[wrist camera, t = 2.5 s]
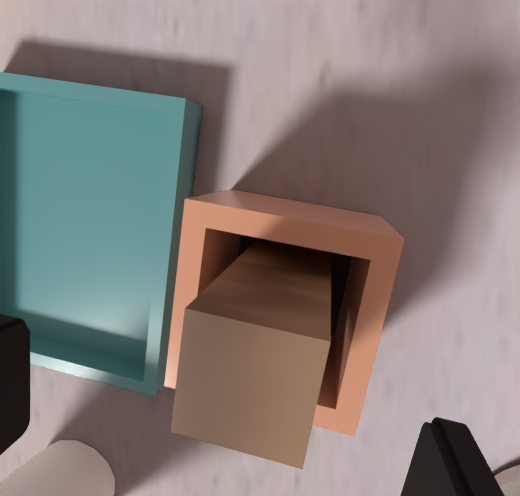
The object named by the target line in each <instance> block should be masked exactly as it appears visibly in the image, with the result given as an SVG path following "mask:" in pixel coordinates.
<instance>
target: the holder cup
mask: <svg viewBox="0 0 520 496" xmlns="http://www.w3.org/2000/svg"><path fill="white" fill-rule="evenodd" d="M241 235H246V236H251V237H256V238H261V239H266V240H271V241H276V242H282V243H287V244H292V245H297V246H302V247H307V248H312V249H317V250H323V251H328V252H333V253H338V254H343V255H348V256H352V261H351V265H350V270H349V274H348V279H347V283H346V287H345V292H344V296H343V301H342V305H341V310H340V314H339V319H338V323H337V328H336V332H335V337H334V336H331V343H330V347H329V352H328V356H327V361H326V365H325V370H324V374H323V379H322V383H321V388H320V392H319V397H318V401H317V406H316V410H315V415H314V419H313V424H312V425H314V426H318V427H321V428H325V429H329V430H333V431H336V432H340V433H344V434H348V435H352V436H355V434H356V430H357V426H358V422H359V418H360V414H361V410H362V406H363V402H364V399H365V395H366V391H367V387H368V383H369V379H370V375H371V371H372V367H373V363H374V359H375V355H376V352H377V348H378V344H379V340H380V336H381V332H382V328H383V324H384V320H385V316H386V312H387V308H388V304H389V301H390V297H391V293H392V289H393V285H394V281H395V277H396V273H397V269H398V265H399V261H400V257H401V254H402V250H403V246H404V242H405V239H404V238H403V237H402V236H401V235H400V234H399V233H398V232H397V231H396V230H395V229H394V228H393V227H392V226H391V225H390V224H389V223H388V222H387V221H386V220H385V219H384V218H383V217H382V216H379V215H374V214H368V213H362V212H357V211H351V210H345V209H340V208H334V207H328V206H323V205H317V204H311V203H306V202H300V201H295V200H289V199H283V198H278V197H272V196H266V195H261V194H255V193H249V192H244V191H238V190H233V189H229V190H224V191H219V192H214V193H209V194H205V195H200V196H195V197H190V198H185V201H184V211H183V220H182V229H181V238H180V247H179V256H178V265H177V274H176V283H175V292H174V301H173V311H172V320H171V329H170V338H169V347H168V356H167V365H166V374H165V383H164V386H166V387H170V388H174V389H175V387H176V379H177V370H178V362H179V353H180V345H181V337H182V328H183V320H184V311H185V308H186V307H187V306H188V305H189V304H190V303H191V302H192V301H193V300H194V299H195V298H196V297H197V296H198V295H199V294H200V293H201V292H202V291H204V290H205V289H206V288H207V287H208V286H209V285H210V284H211V283H212V282H213V281H214V280H215V279H216V278H217V277H218V276H219V275H220V274H221V273H222V272H223V271H225V270H226V269H227V268H228V267H229V266H230V265H231V264H232V263H233V262H234V261H235V260H236V259H237V258H238V252H239V246H240V239H241Z"/></svg>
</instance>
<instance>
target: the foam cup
mask: <svg viewBox="0 0 520 496" xmlns="http://www.w3.org/2000/svg"><path fill="white" fill-rule="evenodd" d="M114 494H115V477H114V475H113V473H112V470H111V468H110V466H109V464H108V462H107V461H106V460H105V459H104V458H103V457H102V456H101V455H100V454H99V453H98V452H97V451H96V450H95V449H94V448H92V447H90V446H88V445H86V444H84V443H82V442H79V441H77V440H59V441H57V442H55V443H53V444H51V445H50V446H48V447H47V448H46V449H45V450H43V451H41V452H39V453H38V454H37V455H35V456H34V457H33V458H31V459H30V460H29V461H27V462H26V463H25V464H24V465H22V466H21V467H20V468H18V469H17V470H16V471H14V472H13V473H12V474H10V475H9V476H8V477H6V478H5V479H4V480H2V481H1V482H0V496H114Z"/></svg>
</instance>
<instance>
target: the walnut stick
mask: <svg viewBox="0 0 520 496" xmlns="http://www.w3.org/2000/svg"><path fill="white" fill-rule="evenodd" d="M330 343H331V252H328V251H323V250H317V249H312V248H307V247H302V246H297V245H292V244H287V243H282V242H276V241H271V240H266V239H261V238H258V239H257V240H256V241H255V242H254V243H253V244H252V245H251V246H250V247H249V248H248V249H247V250H246V251H244V252H243V253H242V254H241V255H240V256H239V257H238V258H237V259H236V260H235V261H234V262H233V263H232V264H231V265H230V266H229V267H228V268H227V269H226V270H225V271H223V272H222V273H221V274H220V275H219V276H218V277H217V278H216V279H215V280H214V281H213V282H212V283H211V284H210V285H209V286H208V287H207V288H206V289H205V290H204V291H202V292H201V293H200V294H199V295H198V296H197V297H196V298H195V299H194V300H193V301H192V302H191V303H190V304H189V305H188V306H187V307H186V308H185V311H184V320H183V328H182V337H181V345H180V353H179V362H178V370H177V379H176V387H175V396H174V404H173V413H172V421H171V430H170V432H173V433H176V434H180V435H183V436H187V437H190V438H194V439H197V440H201V441H204V442H208V443H212V444H215V445H219V446H222V447H226V448H229V449H233V450H236V451H240V452H243V453H247V454H251V455H254V456H258V457H261V458H265V459H268V460H272V461H275V462H279V463H282V464H286V465H290V466H293V467H297V468H300V469H303V465H304V460H305V455H306V451H307V446H308V442H309V437H310V433H311V428H312V424H313V419H314V415H315V410H316V406H317V401H318V397H319V392H320V388H321V383H322V379H323V374H324V370H325V365H326V361H327V356H328V352H329V347H330Z"/></svg>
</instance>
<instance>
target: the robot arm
mask: <svg viewBox="0 0 520 496" xmlns="http://www.w3.org/2000/svg"><path fill="white" fill-rule="evenodd" d="M29 422H30V329H29V328H28V327H27V326H26V323H25V321H24V320H23V319H21V318H17V317H13V316H9V315H4V314H0V455H1V454H2V453H3V452H4V451H5V450H6V449H8V448H9V447H10V446H11V445H12V444H13V443H14V442H15V441H16V440H18V439H19V438H20V437H21V436H22V435H23V434H24V432H25V431H26V429H27V427H28V425H29ZM401 496H520V465H517V466H514V467H512V468H509V469H506V470H504V471H502V472H500V473H499V474H497V475H495V476H494V475H493V473H492V471H491V469H490V467H489V466H488V464H487V462H486V460H485V458H484V456H483V454H482V453H481V451H480V449H479V447H478V445H477V443H476V441H475V440H474V438H473V436H472V434H471V432H470V430H469V428H468V427H467V426H466V425H465V424H463V423H459V422H455V421H450V420H446V419H442V418H438V417H436V418H434V419H433V421H432V423H428V422H425V423H424V424H423V426H422V428H421V432H420V435H419V438H418V441H417V444H416V448H415V451H414V454H413V457H412V461H411V464H410V467H409V470H408V473H407V477H406V480H405V483H404V486H403V490H402V493H401Z"/></svg>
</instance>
